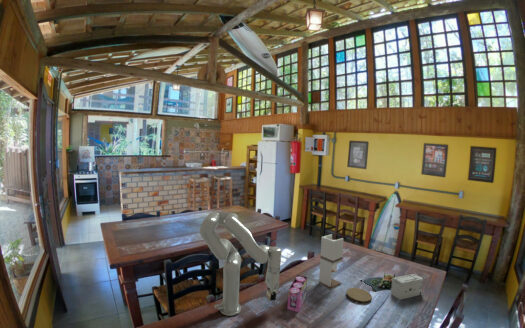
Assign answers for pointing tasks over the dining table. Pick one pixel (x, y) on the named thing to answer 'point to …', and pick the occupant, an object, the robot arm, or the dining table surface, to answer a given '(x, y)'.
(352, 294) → the tan round disc
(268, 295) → the ash cube
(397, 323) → the dining table surface
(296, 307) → the gum box
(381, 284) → the plated dish
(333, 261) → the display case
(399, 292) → the concrete block
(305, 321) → the dining table surface
